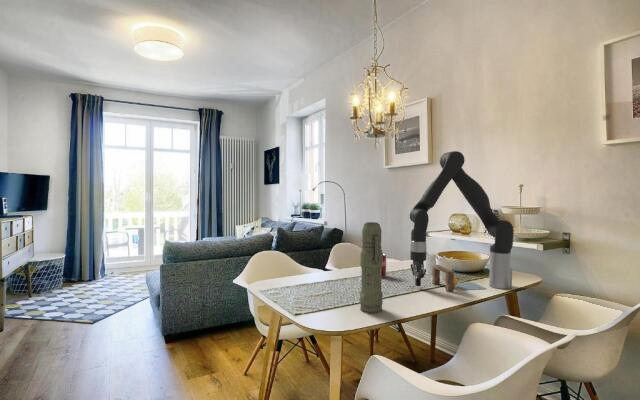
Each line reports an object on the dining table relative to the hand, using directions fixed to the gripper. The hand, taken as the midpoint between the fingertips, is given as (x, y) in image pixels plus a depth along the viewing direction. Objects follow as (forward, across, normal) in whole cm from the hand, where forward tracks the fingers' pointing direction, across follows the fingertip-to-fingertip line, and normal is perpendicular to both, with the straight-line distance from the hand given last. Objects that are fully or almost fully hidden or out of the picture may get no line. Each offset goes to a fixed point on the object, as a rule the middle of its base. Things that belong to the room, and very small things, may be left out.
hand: (417, 285), depth 174 cm
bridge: (+2, 0, -13) cm, 13 cm away
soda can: (+2, +27, +10) cm, 29 cm away
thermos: (+2, -25, +32) cm, 41 cm away
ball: (-2, 0, -18) cm, 18 cm away
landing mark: (+2, 0, -27) cm, 27 cm away
